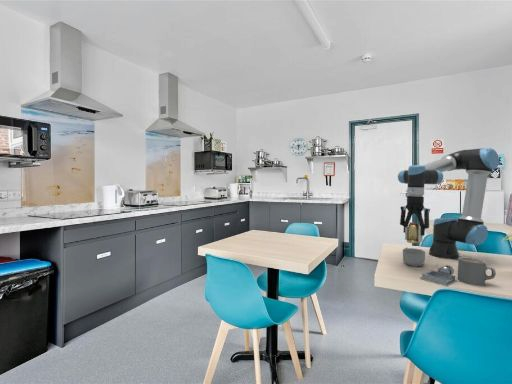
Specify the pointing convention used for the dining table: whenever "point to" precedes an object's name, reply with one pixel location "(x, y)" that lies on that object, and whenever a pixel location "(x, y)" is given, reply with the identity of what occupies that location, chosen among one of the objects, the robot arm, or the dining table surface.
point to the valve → (413, 233)
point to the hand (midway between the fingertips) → (413, 240)
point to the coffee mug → (473, 271)
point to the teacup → (413, 256)
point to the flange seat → (440, 276)
